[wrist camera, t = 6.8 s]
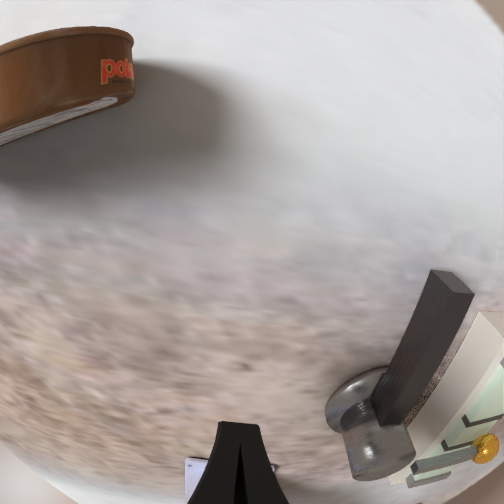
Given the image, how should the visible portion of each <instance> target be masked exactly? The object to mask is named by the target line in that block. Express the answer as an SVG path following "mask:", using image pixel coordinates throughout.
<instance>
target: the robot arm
mask: <svg viewBox="0 0 504 504" xmlns="http://www.w3.org/2000/svg"><path fill="white" fill-rule="evenodd" d="M274 471H275V467H274V466H273V465H271V464H270V462H269V459H268V456H267V453H266V450H265V447H264V444H263V440H262V436H261V432H260V427H259V426H258V425H257V424H245V423H235V422H226V421H221V422H218V428H217V434H216V439H215V443H214V446H213V449H212V452H211V455H210V458H209V460H203V459H196V458H186V460H185V494H186V495H187V500H186V504H289V503H288V501H287V499H286V497H285V495H284V493H283V491H282V489H281V487H280V485H279V483H278V481H277V479H276V476H275V474H274Z"/></svg>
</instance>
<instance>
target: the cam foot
mask: <svg viewBox="0 0 504 504" xmlns="http://www.w3.org/2000/svg"><path fill="white" fill-rule="evenodd" d="M474 295H475V294H474V293H473V292H472V291H471V290H470V289H469V288H468V287H467V286H466V285H465V284H464V283H463V282H462V281H461V280H460V279H459V278H457V277H456V276H455V275H454V274H453V273H452V272H445V271H438V270H430V273H429V276H428V279H427V281H426V284H425V286H424V289H423V292H422V294H421V297H420V299H419V302H418V304H417V306H416V309H415V311H414V313H413V316H412V318H411V320H410V323H409V325H408V327H407V329H406V332H405V334H404V336H403V338H402V340H401V342H400V345H399V347H398V349H397V351H396V353H395V355H394V357H393V359H392V361H391V363H390V365H389V367H383V368H377V369H374V370H370V371H367V372H364V373H362V374H360V375H358V376H356V377H354V378H352V379H350V380H349V381H347V382H346V383H344V384H343V385H341V386H340V387H339V388H338V389H337V390H336V391H335V392H334V393H333V394H332V395H331V397H330V398H329V400H328V401H327V404H326V406H325V416H326V420H327V424H328V425H329V427H330V428H331V429H333V430H334V431H336V432H338V433H341V434H342V435H343V439H344V443H345V447H346V451H347V455H348V460H349V464H350V468H351V473H352V477H353V478H354V479H355V480H358V481H372V480H377V479H381V478H384V477H387V476H390V475H392V474H394V473H396V472H398V471H400V470H402V469H403V468H405V467H406V466H407V465H409V464H410V463H411V462H412V461H413V460H414V458H415V456H416V450H415V448H414V445H413V443H412V440H411V438H410V435H409V433H408V430H407V428H406V425H405V423H404V419H405V418H406V416H407V415H408V414H409V412H410V411H411V409H412V408H413V406H414V405H415V403H416V402H417V400H418V399H419V397H420V396H421V394H422V393H423V391H424V389H425V388H426V386H427V385H428V383H429V381H430V380H431V378H432V376H433V375H434V373H435V371H436V370H437V368H438V366H439V365H440V363H441V361H442V359H443V358H444V356H445V354H446V352H447V350H448V348H449V347H450V345H451V343H452V341H453V339H454V337H455V335H456V333H457V331H458V329H459V327H460V325H461V323H462V321H463V319H464V317H465V315H466V313H467V311H468V308H469V306H470V304H471V302H472V300H473V297H474ZM498 450H499V440H498V438H497V437H496V436H495V435H494V434H491V433H485V434H482V435H480V436H478V437H477V438H476V439H475V440H474V441H473V443H472V445H471V447H468V448H465V449H461V450H458V451H454V452H450V453H446V454H442V455H438V456H434V457H430V458H425V459H421V460H416V461H415V462H414V463H413V464H412V465H411V466H410V468H411V471H412V473H413V475H417V474H421V473H425V472H429V471H433V470H437V469H441V468H444V467H448V466H451V465H455V464H458V463H461V462H464V461H468V460H471V459H472V460H473V461H474V462H475V463H478V464H484V463H487V462H489V461H491V460H492V459H493V458H494V457H495V456H496V454H497V452H498Z"/></svg>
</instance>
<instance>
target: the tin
mask: <svg viewBox="0 0 504 504" xmlns="http://www.w3.org/2000/svg"><path fill="white" fill-rule="evenodd" d="M133 44H134V40H133V37H132V36H131V35H130V34H129V33H128V32H125V31H122V30H119V29H114V28H111V27H96V26H88V27H71V28H60V29H54V30H49V31H44V32H40V33H36V34H33V35H29V36H26V37H23V38H19V39H16V40H13V41H11V42H8V43H5V44H3V45H1V46H0V146H2V145H4V144H7V143H9V142H12V141H15V140H17V139H20V138H23V137H25V136H28V135H31V134H33V133H36V132H39V131H42V130H44V129H47V128H50V127H53V126H56V125H59V124H62V123H64V122H67V121H70V120H73V119H76V118H79V117H83V116H86V115H89V114H92V113H95V112H99V111H102V110H105V109H108V108H112V107H115V106H118V105H120V104H123V103H125V102H127V101H129V100H130V99H131V98H132V97H133V96H134V93H135V79H134V70H133V60H132V47H133Z"/></svg>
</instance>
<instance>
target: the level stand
mask: <svg viewBox="0 0 504 504" xmlns="http://www.w3.org/2000/svg"><path fill="white" fill-rule="evenodd" d="M503 413H504V312H489V311H478V314H477V316H476V318H475V320H474V322H473V324H472V326H471V328H470V330H469V331H468V333H467V335H466V337H465V339H464V341H463V343H462V344H461V346H460V348H459V350H458V352H457V353H456V355H455V357H454V359H453V360H452V362H451V364H450V365H449V367H448V369H447V370H446V372H445V374H444V375H443V377H442V378H441V380H440V382H439V383H438V385H437V386H436V388H435V389H434V391H433V392H432V394H431V395H430V397H429V398H428V400H427V401H426V403H425V404H424V405H423V407H422V408H421V410H420V411H419V412H418V414H417V415H416V417H415V418H414V419H413V421H412V422H411V423H410V425H409V426H408V427H407V430H408V433H409V435H410V438H411V440H412V443H413V445H414V448H415V450H416V456H415V458H414V460H413V461H412V462H411V463H410V464H409V465H407V466H406V467H405V468H403V469H402V470H400V471H398V472H396V473H394V474H392V475H390V476H388V477H389V480H390V484H391V485H395V484H400V483H405V482H407V485H408V488H413V487H417V486H421V485H425V484H429V483H432V482H436V481H440V480H443V479H446V478H447V477H448V476H449V475H450V474H451V472H450V470H452V469H453V468H454V467H455V466H456V465H457V464H455V465H451V466H448V467H444V468H441V469H437V470H433V471H429V472H425V473H421V474H417V475H413V473H412V471H411V468H410V466H411V465H412V464H413V463H414V462H415V461H416V460H421V459H425V458H430V457H434V456H438V455H442V454H446V453H450V452H454V451H458V450H461V449H465V448H468V447H471V445H472V443H473V441H474V440H475V439H476V438H477V437H478V436H480V435H482V434H485V433H487V432H488V431H489V430H490V429H491V428H492V427H493V425H494V424H495V423H496V422H497V421H498V419H501V418H502V416H503V415H504V414H503Z"/></svg>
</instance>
